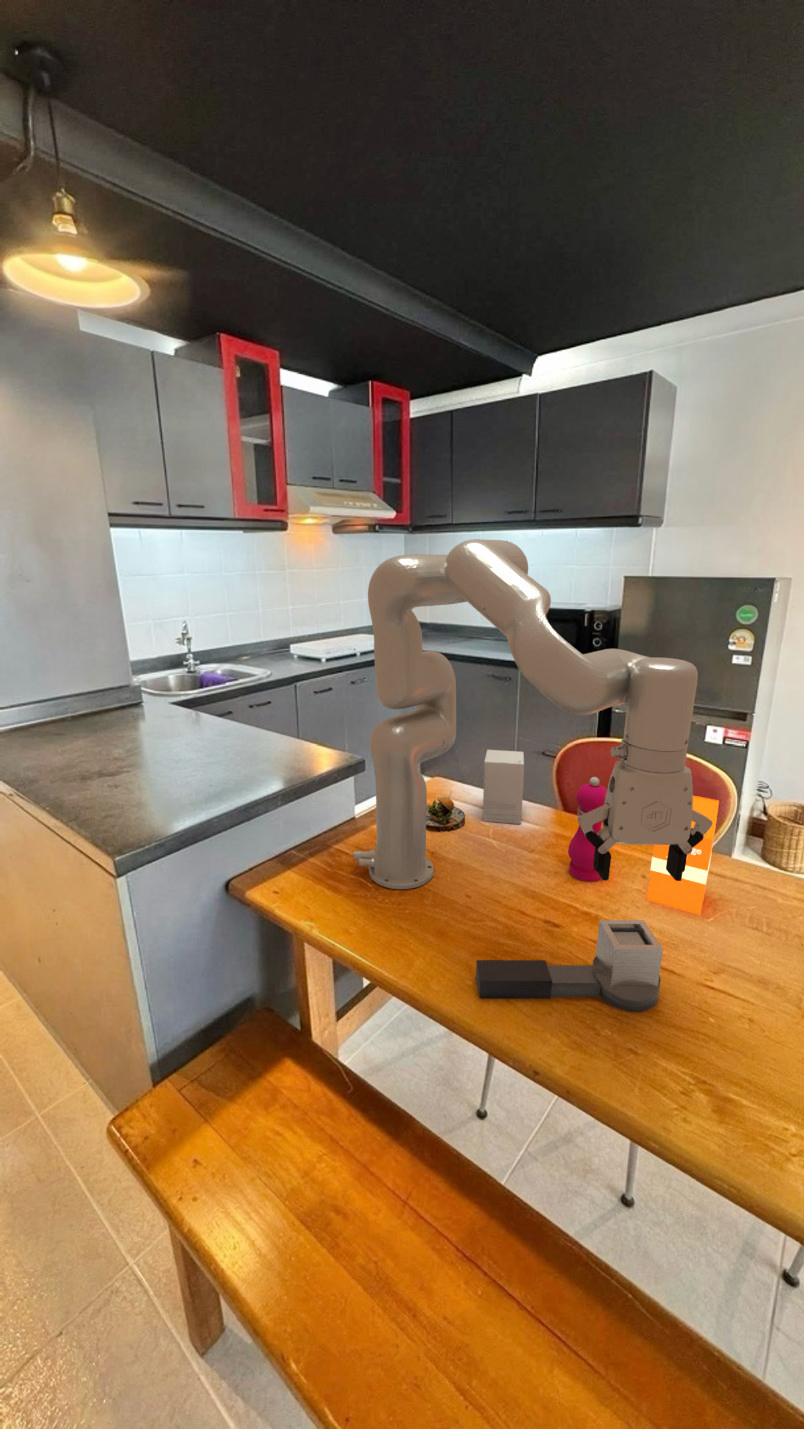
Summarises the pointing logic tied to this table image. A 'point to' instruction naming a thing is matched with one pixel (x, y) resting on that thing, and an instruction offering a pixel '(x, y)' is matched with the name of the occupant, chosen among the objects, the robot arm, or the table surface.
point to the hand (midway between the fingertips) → (637, 875)
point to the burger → (444, 815)
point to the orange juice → (695, 875)
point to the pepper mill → (579, 845)
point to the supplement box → (503, 786)
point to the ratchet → (561, 981)
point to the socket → (628, 955)
